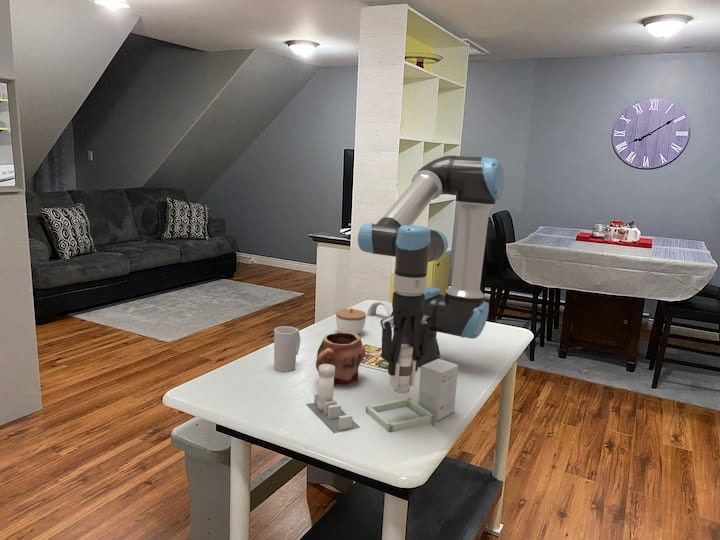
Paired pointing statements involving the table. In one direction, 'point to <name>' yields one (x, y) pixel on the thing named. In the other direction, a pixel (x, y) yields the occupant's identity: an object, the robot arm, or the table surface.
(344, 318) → the lidded jar
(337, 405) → the holder
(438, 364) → the small box
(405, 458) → the table surface
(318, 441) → the table surface
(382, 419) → the parts tray
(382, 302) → the grey curved piece
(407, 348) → the light bulb
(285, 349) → the mug
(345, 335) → the decorative planter
